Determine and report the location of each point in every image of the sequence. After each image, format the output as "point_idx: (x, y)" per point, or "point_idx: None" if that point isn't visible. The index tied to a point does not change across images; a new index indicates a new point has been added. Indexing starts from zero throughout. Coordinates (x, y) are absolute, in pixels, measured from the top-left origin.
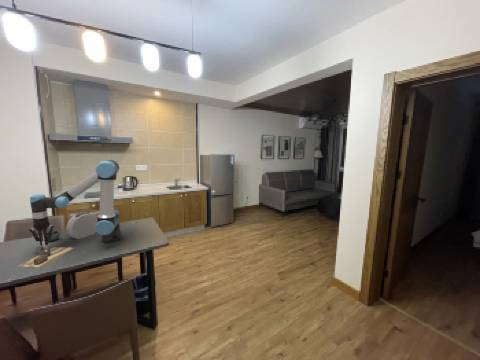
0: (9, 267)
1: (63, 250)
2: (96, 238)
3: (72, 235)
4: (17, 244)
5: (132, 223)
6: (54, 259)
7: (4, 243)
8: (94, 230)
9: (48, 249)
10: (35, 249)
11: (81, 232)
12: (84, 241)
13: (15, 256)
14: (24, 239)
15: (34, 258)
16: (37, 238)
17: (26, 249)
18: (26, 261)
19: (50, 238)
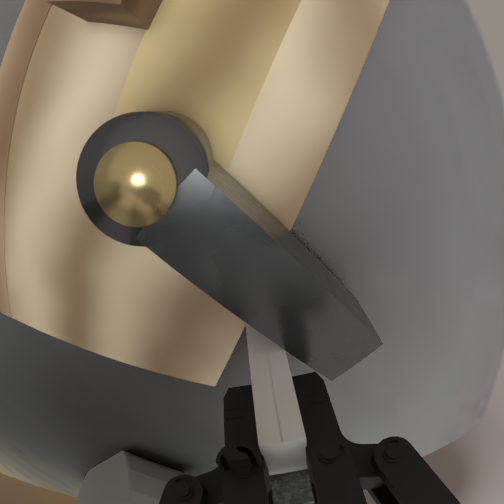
0: (464, 44)
1: (48, 278)
2: (19, 417)
3: (148, 485)
4: (453, 420)
5: (15, 470)
6: (22, 31)
7: (482, 418)
8: (84, 486)
9: (116, 221)
10: (369, 324)
11: (107, 491)
12: (53, 411)
13: (477, 285)
14: (426, 452)
15: (306, 114)
16: (396, 495)
17: (425, 381)
18: (367, 53)
19: (297, 478)
